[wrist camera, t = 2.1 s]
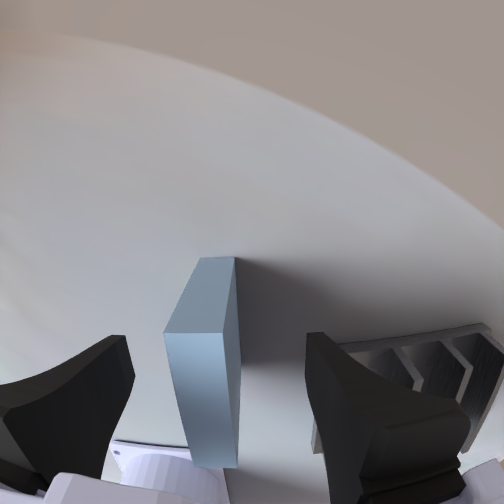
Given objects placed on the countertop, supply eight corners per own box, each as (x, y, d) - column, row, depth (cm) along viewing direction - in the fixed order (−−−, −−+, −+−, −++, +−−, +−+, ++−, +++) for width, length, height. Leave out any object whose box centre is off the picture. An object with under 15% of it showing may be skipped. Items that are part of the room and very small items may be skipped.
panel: (241, 364, 17) (237, 468, 10) (211, 365, 17) (194, 467, 10) (234, 256, 15) (222, 333, 8) (200, 258, 15) (163, 332, 8)
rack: (454, 413, 18) (477, 447, 14) (311, 443, 18) (320, 489, 15) (485, 322, 16) (521, 351, 12) (320, 345, 16) (338, 393, 12)
